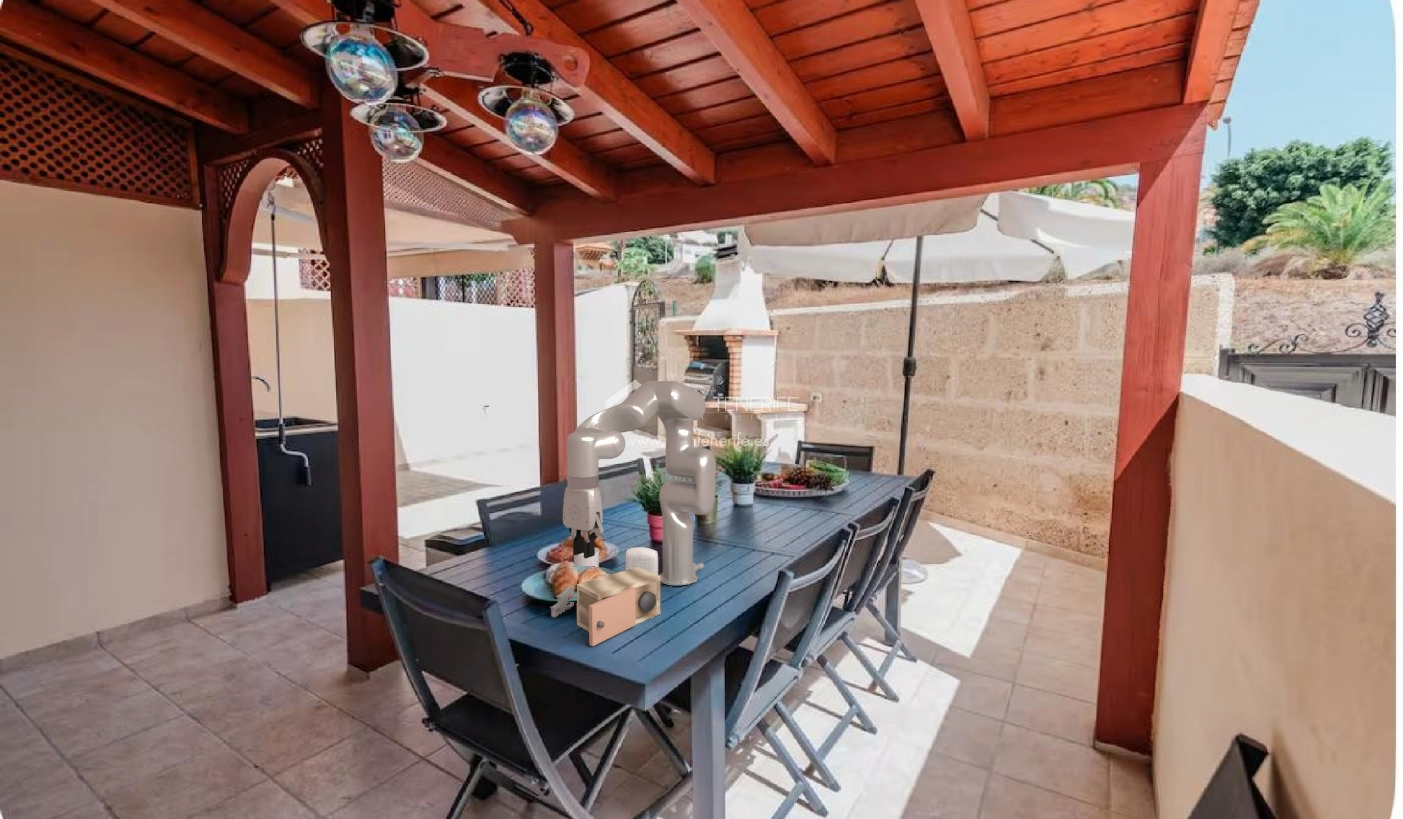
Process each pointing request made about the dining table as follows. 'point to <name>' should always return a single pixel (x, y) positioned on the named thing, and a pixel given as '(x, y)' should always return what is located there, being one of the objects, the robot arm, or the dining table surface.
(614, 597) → the door
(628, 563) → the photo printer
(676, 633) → the dining table surface
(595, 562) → the white cup
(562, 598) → the garden wall model
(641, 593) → the wooden cabinet
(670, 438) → the robot arm
